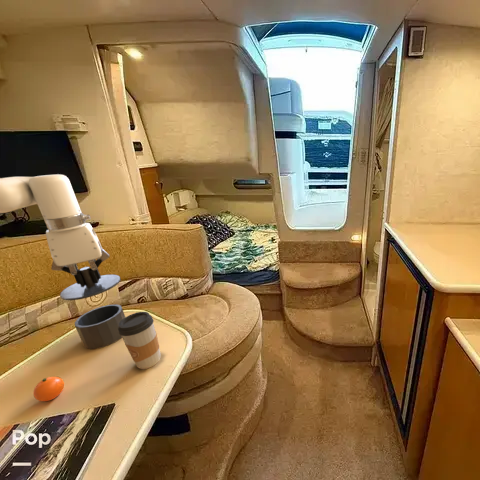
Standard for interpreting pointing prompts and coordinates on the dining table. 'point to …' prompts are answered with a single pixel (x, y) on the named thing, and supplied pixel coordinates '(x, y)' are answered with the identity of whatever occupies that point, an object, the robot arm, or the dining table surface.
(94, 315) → the pot
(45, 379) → the orange
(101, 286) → the lid
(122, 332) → the coffee cup
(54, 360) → the dining table surface
